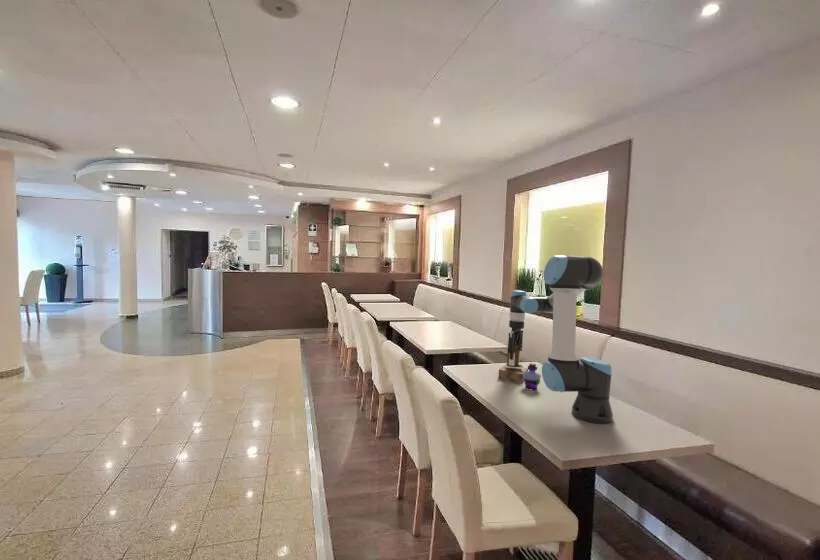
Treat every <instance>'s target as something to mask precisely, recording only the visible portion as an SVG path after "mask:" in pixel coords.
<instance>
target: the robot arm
mask: <svg viewBox="0 0 820 560" xmlns="http://www.w3.org/2000/svg"><path fill="white" fill-rule="evenodd" d="M603 276H604V268H603V266H602V264H601V262H600V261H598V260H597V259H596V258H594V257H591V256H582V255H581V256H579V255H564V254H562V255H561V254H560V255H554V256H552V257H550V258H549V259H548V261H547V262H546V263H545V266H544V271H543V278H544V282H545V283H546V284H547V285H549V290H551V292H552V293H551V294H550V295H549V296H527V292H526V290H516V289H513V290H512V291H511V293H510V306H509V313H508V315H509V320H508V321H509V322H508V327H509V328H511V332H509V333H508V340H507V342H508V343H507V349H508V353H509V365H511V366H514V362H515V353H514V351H515V346H516V343H519V363H520V361H521V352H522V351H523V338H524V336H523V335H524V330H522V329H524V328H525V320H526V319H525V317H526V314H533V313H551V314H552V343H551V344H552V347H551V349H552V350H551V351H552V352H551V353H550V354H548V356H547V361H544V362H543V363H542V366H541V378H542V379H543V383H544V384H545V386H546V387H547V389H549V391H551V392H557V393H558V392H559V393H566V392H569V393H570V392H572V393H573V392H577V395H576V397H575V400H574V401H573V404H572V406H571V414H572V415H573V416H574V417H576V418H577V419H580V420H582V421H586V422H588V423H594V424H600V425H601V424H604V425H605V424H610V423H612V422H613V419H614V418H613V417H614V414H613V410H612V406H611V401H610V395H611V384H612V383H611V381H612V375H613V374H612V366H611V364H610V363H608V362H607V361H605V360H601V359H597V358H594V357H588V356H582V357H580V358H579V357H578V355H576V335H577V333H576V332H577V331H576V328H577V327H576V325H577V296H579V295H580V294H583V292H585V291H586V290H592V289H594V288H596V286H598V285H599V284H600V283H601V282H602V280H603Z"/></svg>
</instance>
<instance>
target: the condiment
mask: <svg viewBox="0 0 820 560" xmlns="http://www.w3.org/2000/svg"><path fill="white" fill-rule="evenodd" d="M506 351H507V353H506V362H504V363H505V364H504V365H506V366H507V367H523V368H525V367H524V366H523V364H522V363H520V362H519V343H516V346H515V351H514V353H515V362H514V366H511V365H509V353H508V348H507V350H506Z"/></svg>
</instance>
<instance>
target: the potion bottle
mask: <svg viewBox="0 0 820 560" xmlns="http://www.w3.org/2000/svg"><path fill="white" fill-rule="evenodd" d="M527 368H528V371H527V372H523V377H524V385H525V387H526V388H528V389H527V390H529V389H536V390H537V389H538V385H539V384H540V383H541V378H542V374H541V373H539V372H537V370H538V366H537V365H536V363H533V362H532V363H529V364H528V365H527ZM526 388H525V389H526Z"/></svg>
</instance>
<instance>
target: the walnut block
mask: <svg viewBox="0 0 820 560" xmlns="http://www.w3.org/2000/svg"><path fill="white" fill-rule="evenodd" d="M523 367H524V366H523ZM523 367H507V366H506V364H504V365H503V366H502V367H500V368H499V369H498V379H500V380H504V379H505V381H509V380H511V381H510V382H514V381H516V382H515V383H519V382H521V383H520V384H523V383H524V382H525V380H524V377H523V372H527V371H529V369H528V367H524V368H523Z"/></svg>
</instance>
